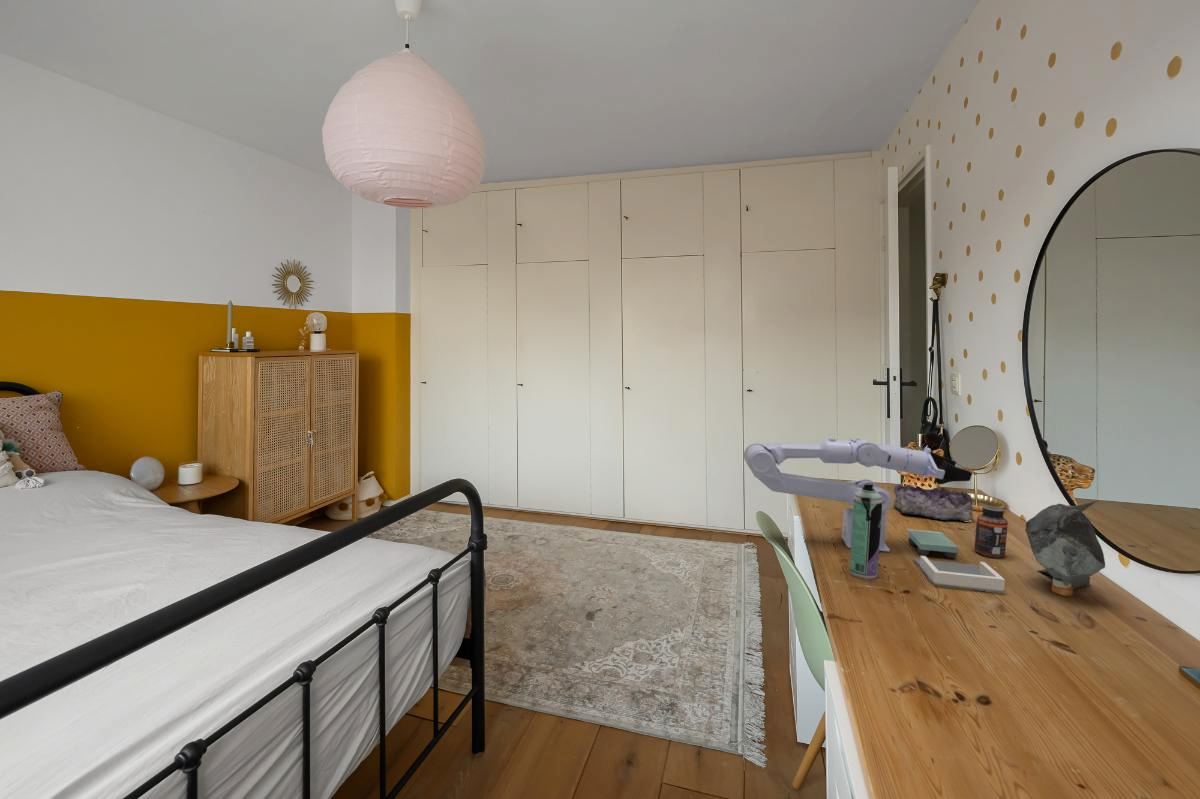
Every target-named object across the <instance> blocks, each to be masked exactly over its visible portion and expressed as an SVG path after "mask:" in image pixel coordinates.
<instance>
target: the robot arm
mask: <svg viewBox="0 0 1200 799" xmlns="http://www.w3.org/2000/svg"><path fill="white" fill-rule="evenodd" d="M743 458H744V461H745V462H746V464H747V466H748V468H749V469H750V471H751V473H752V474H753V477H754V478H756V479H757V480H759V481H760V483H762V484H763V485H764V486H766V487H767V488H768V489H769V490H770V491H772V492H774V493H775V492H776V493H781V494H787V495H795V496H801V497H809V498H815V499H821V500H828V501H834V502H835V501H836V502H841V503H847V504H849V505H851V506H853V503H854V496H855V492H858V491H860V490H861V489H862V488H863V487H864V484H867V483H871V484H873V488H874V489H875V490H876V492H877V493H878V494H879V495H881V496H882V515H881V531H880V546H879V552H889V553H890V551H891V549H890V548H889V547H888V545H887V544H886V531H887V530H886V528H887V514H888V513H887V512H888V510H890V508H891V506H892V504H893V503H892V496H891V494H890V493H889V491H887V489H884V488H881V487H880V486H879V485H877V484H876V483H875V482H874V481H872V480H870V479H860V480H857V481H855V480H854V481H853V480H847V481H841V480H834V479H829V478H828V479H827V478H820V477H815V476H814V477H812V476H806V475H799V474H792V473H786V472H781V470H780V469H779V468H778V466H780V465H781V464H783V462H784V461H786V460H787V459H819V460H821V461H822V463H824V464H848V465H849V464H850V465H852V464H855V463H858V464H860V465H862V466H865V468H872V467H874V466H876V467H880V468H882V469H888V470H893V471H897V472H903V473H906V474H907V473H908V474H914V475H918V476H919V477H931V478H934V482H935V483H936V484H938V485H944V484H947V483H952V482H970V481H971V479H972V476H973V472H971V471H970V470H968V469H964V468H961V467H958V466H956V464H957V461H955V460H953V459H951V458H947V457H945V456H942V455H939V454H938V453H935V452H934V451H932V449H931V448H929V447H927V446H925V447H924V448H922V450H915V449H911V448H905V447H901V446H895V445H889V444H882V443H873V442H870V441H868V440H866V439H862V438H850V439H849V440H844V439H843V440H840V439H838V440H837V439H836V438H835V437H828V439H823V440H822V441H821V442H820V443H819V444H804V443H789V442H787V443H786V442H764V443H763V444H761V443H758V442H757V443H756V442H755V443H751V444H749V445H748V446H747V447H746V448H745V449H744V453H743ZM852 520H853V507H852V508H847V507H846V508H844V510H843V519H842V535H841V538H842V540H843V542H844V544H845V546H846V547H847V548H848V549H851V537H852Z"/></svg>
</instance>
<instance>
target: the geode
mask: <svg viewBox="0 0 1200 799" xmlns="http://www.w3.org/2000/svg"><path fill="white" fill-rule="evenodd" d="M893 493H894V495H895V497H894V501H893V503H892V504H893V507H894V508H896V509H897V510H898V511H900V513H902V514H907V515H915V516H921V517H926V518H929V519H935V520H937V519H940V520H939V521H942V520H945V521H949V520H950V521H951V520H953V521H954V520H956V521H959V520H960V521H961V522H962V521H969V520H973V521H974V514H973V511H974V506H973V499H972V496H971V495H969V493H968V492H964V491H961V492H958V491H956V490H954V489H953V490H952V491H950V490H949V489H946V488H944V487H941V488H940V490H939V489H938V487H934V488H932V489H924V488H922V486H921V487H920V486H918V485H917V486H914V485H910V484H906V485H905V486H904V485H900V484H898V485H895V486H894V487H893ZM960 521H959V522H960Z"/></svg>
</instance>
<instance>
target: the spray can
mask: <svg viewBox="0 0 1200 799" xmlns="http://www.w3.org/2000/svg"><path fill="white" fill-rule="evenodd" d="M852 506H853V507H852V508H853V520H852V537H851V548H850V553H849V554H850V555H849V556H850V558H849V573H850V574H851V575H852V576H855V577H857V578H860V579H864V580H875V579H877V578H878V574H879V573H878V572H879V560H880V558H879V557H880V551H879V546H880V531H881V515H882V496H881V495H879V494H878V493H877V492H876V490H875V489H874V488H873V484H871V483H867V484H864V487H863V488H862V489H861V490H860V491H858V492H855V496H854V503H853V505H852Z"/></svg>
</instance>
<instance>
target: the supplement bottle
mask: <svg viewBox="0 0 1200 799" xmlns="http://www.w3.org/2000/svg"><path fill="white" fill-rule="evenodd" d="M1004 511H1005V510H1004V509H1003V508H1001V507H997V506H991V505H984V506H983V507H982V511H981V512H982V513H980V514H978V516H977V517H976V524H975V525H976V526H975V536H974V537H975V538H974V547H973V548H974V551H975V552H976V553H978V554H979V555H980V556H984V557H987V556H988V558H992V557H995V558H994V559H1001V558H1004V557H1005V555H1006V554H1005V553H1006V545H1007V536H1008V524H1009V522H1008V520H1007V518H1005V516H1004Z"/></svg>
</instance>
